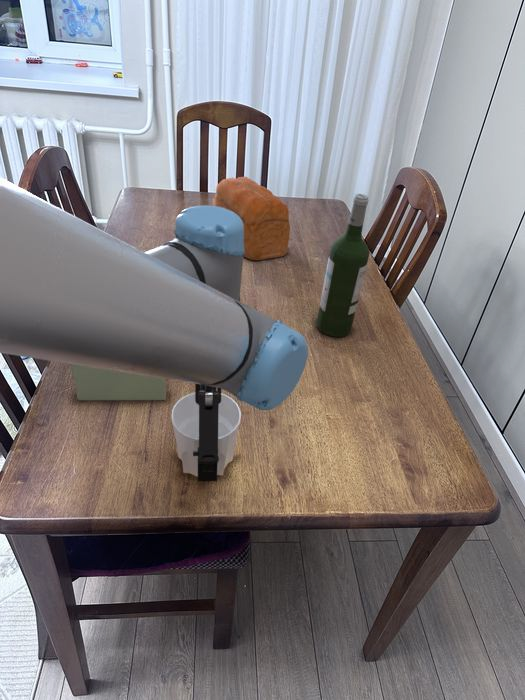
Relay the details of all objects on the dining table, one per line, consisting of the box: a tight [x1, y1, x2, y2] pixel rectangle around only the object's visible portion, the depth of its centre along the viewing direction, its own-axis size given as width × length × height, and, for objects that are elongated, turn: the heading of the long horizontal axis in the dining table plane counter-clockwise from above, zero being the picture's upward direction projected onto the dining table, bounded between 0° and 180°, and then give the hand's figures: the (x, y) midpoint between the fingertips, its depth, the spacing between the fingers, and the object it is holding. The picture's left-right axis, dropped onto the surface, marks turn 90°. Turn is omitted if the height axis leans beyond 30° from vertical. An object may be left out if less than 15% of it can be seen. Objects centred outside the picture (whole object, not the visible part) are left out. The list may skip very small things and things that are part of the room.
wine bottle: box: [316, 193, 370, 338], centre depth 100 cm, size 8×8×30 cm
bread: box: [212, 176, 291, 261], centre depth 137 cm, size 14×27×15 cm, turn 29°
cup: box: [170, 391, 242, 478], centre depth 74 cm, size 10×10×10 cm
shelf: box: [70, 364, 167, 401], centre depth 97 cm, size 39×15×11 cm, turn 5°
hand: (207, 442), depth 75 cm, fingers open, 13 cm apart
